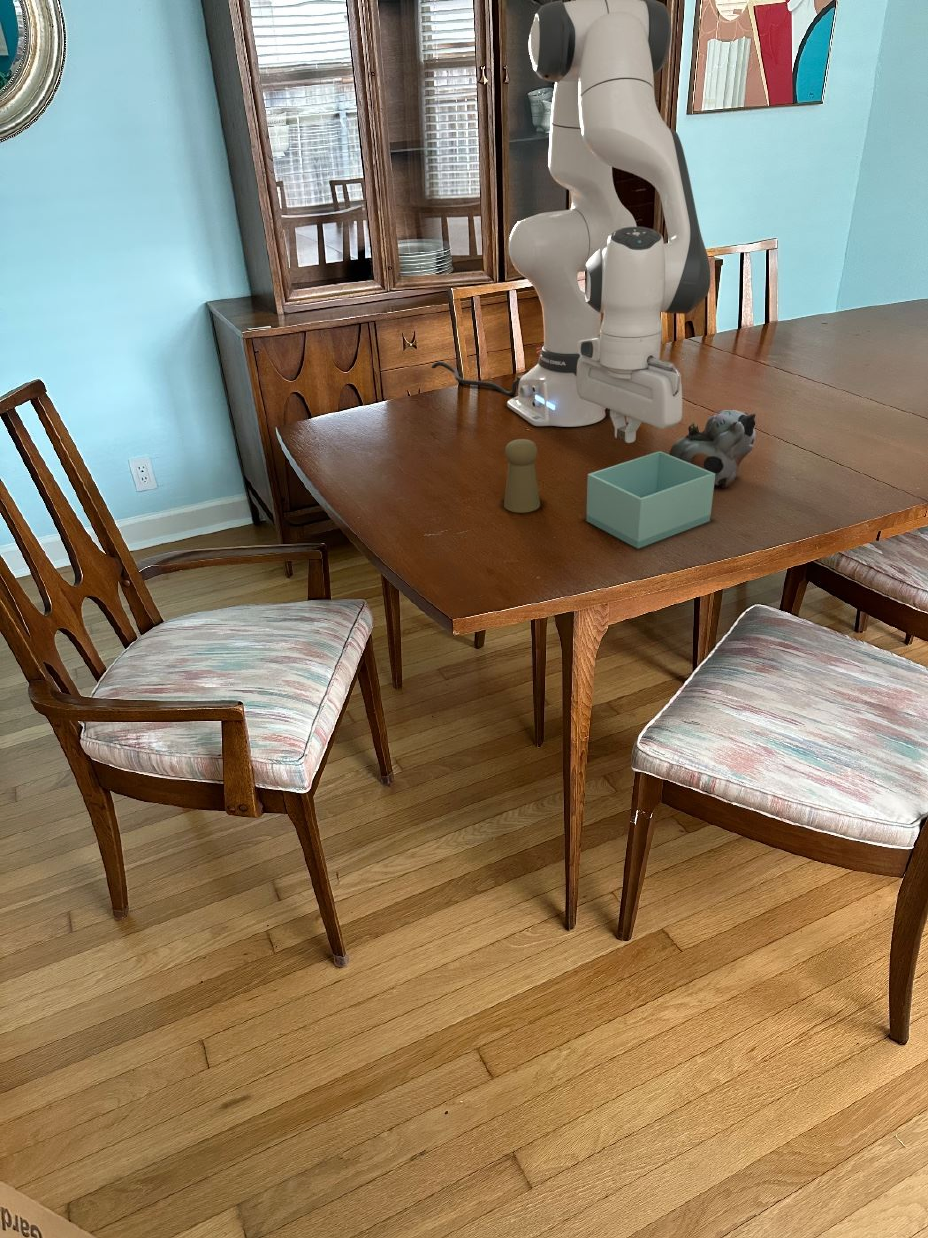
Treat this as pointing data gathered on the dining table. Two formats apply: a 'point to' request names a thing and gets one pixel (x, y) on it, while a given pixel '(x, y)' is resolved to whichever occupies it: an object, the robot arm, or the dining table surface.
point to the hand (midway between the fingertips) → (624, 439)
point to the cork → (521, 477)
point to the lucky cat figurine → (718, 444)
